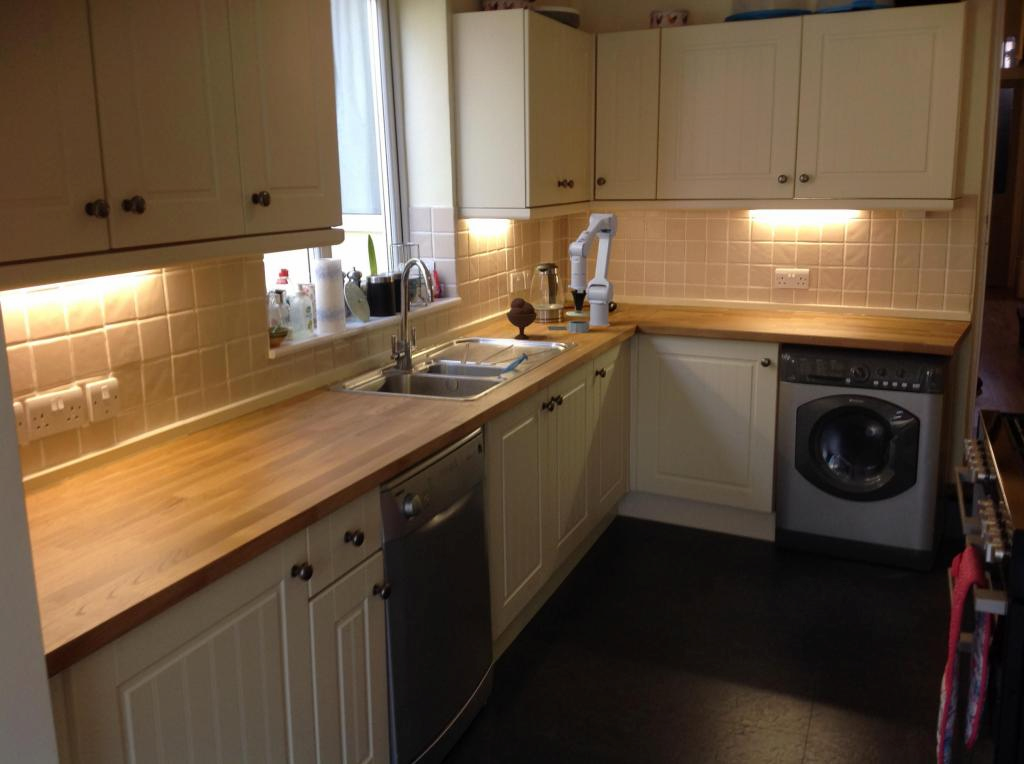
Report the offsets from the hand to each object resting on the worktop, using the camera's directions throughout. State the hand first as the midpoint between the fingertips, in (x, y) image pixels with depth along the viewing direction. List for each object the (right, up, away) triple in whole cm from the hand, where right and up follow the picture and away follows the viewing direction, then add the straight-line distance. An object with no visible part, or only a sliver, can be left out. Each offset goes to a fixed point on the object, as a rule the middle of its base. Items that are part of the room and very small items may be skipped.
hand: (578, 309), depth 367 cm
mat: (-8, -7, +9) cm, 14 cm away
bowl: (0, -9, +2) cm, 9 cm away
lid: (0, -2, 0) cm, 2 cm away
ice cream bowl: (-22, -12, -10) cm, 27 cm away
